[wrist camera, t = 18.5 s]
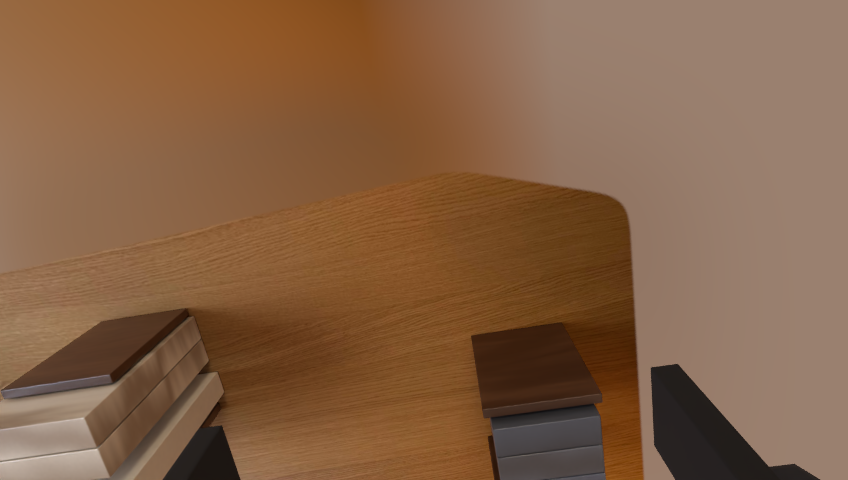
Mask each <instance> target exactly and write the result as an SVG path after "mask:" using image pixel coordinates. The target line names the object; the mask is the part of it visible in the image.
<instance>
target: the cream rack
mask: <svg viewBox="0 0 848 480" xmlns="http://www.w3.org/2000/svg"><path fill="white" fill-rule="evenodd" d="M187 316H188V312H187V309H186V308H185V309H179V310H172V311H166V312H160V313H153V314H147V315H141V316H134V317H128V318H122V319H115V320H109V321H103V322H100V323H99V324H97V325H96V326H94V327H93V328H92V329H90V330H89V331H87V332H86V333H84V334H83V335H81V336H80V337H78V338H77V339H75V340H74V341H73V342H71V343H70V344H68V345H67V346H65V347H64V348H62V349H61V350H59V351H58V352H56V353H55V354H54V355H52V356H51V357H49V358H48V359H46V360H45V361H43V362H42V363H40V364H39V365H37V366H36V367H34V368H33V369H32V370H30V371H29V372H27V373H26V374H24V375H23V376H21V377H20V378H18V379H17V380H15V381H14V382H13V383H11V384H10V385H8V386H7V387H5V388H4V389H2V390H1V393H2V395H3V397H4V399H3V400H2V401H1V402H0V480H96V479H103V478H110V477H111V476H112V475H113V474H114V473H115V471H116V470H117V469H118V468H119V467H120V465H121V464H122V463H123V462H124V461H125V460H126V458H127V457H128V456H129V455H130V454H131V452H132V451H133V450H134V449H135V448H136V447H137V445H138V444H139V443H140V442H141V441H142V439H143V438H144V437H145V436H146V435H147V433H148V432H149V431H150V430H151V429H152V428H153V426H154V425H155V424H156V423H157V422H158V420H159V419H160V418H161V417H162V416H163V415H164V413H165V412H166V411H167V410H168V409H169V407H170V406H171V405H172V404H173V403H174V402H175V400H176V399H177V398H178V397H179V396H180V394H181V393H182V392H183V391H184V390H185V389H186V387H187V386H188V385H189V384H190V383H191V381H192V380H193V379H194V378H195V377H196V376H197V374H198V373H199V372H200V371H201V370H202V368H203V367H204V366H205V365H206V364H207V362H208V361H209V359H208V356H207V353H206V350H205V347H204V344H203V341H202V340H200V339H201V335H200V332H199V329H198V326H197V323H196V321H195V318H194V316H192V317H187ZM220 410H221V409H220V406H219V403H217V404H216V405H215V406H214V408H213V409H212V410H211V412H210V413H209V415H208V416H207V418H206V419H205V420H204V422H203V423H202V425H201V426H200V427H199V428H207V427H209V426H210V425H211V423H212V422H213V420H214V419H215V417H216V416H217V414H218V413H219V411H220Z"/></svg>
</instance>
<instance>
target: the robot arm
mask: <svg viewBox="0 0 848 480" xmlns="http://www.w3.org/2000/svg"><path fill="white" fill-rule="evenodd" d="M651 382H652V404H653V426H654V445H655V447H656V449H657V451H658V452H659V454H660V455H661V457H662V459H663V460H664V462H665V464H666V465H667V467H668V468H669V470H670V472H671V473H672V475H673V477H674V478H675V480H820V479H818V478H817V477H815V476H813V475H812V474H810V473H808V472H807V471H805V470H804V469H802V468H800V467H799V466H797V465H795V464H790V465H782V466H773V467H768V465H767V464H766V463H765V462H764V461H763V460H762V459H761V457H760V456H759V455H758V454H757V453H756V452H755V451H754V450H753V448H752V447H751V446H750V445H749V444H748V443H747V442H746V441H745V439H744V438H743V437H742V436H741V435H740V434H739V433H738V432H737V431H736V429H735V428H734V427H733V426H732V425H731V424H730V423H729V421H728V420H727V419H726V418H725V417H724V416H723V415H722V414H721V412H720V411H719V410H718V409H717V408H716V407H715V406H714V405H713V403H712V402H711V401H710V400H709V399H708V398H707V397H706V395H705V394H704V393H703V392H702V391H701V390H700V389H699V388H698V386H697V385H696V384H695V383H694V382H693V381H692V380H691V379H690V378H689V376H688V375H687V374H686V373H685V372H684V371H683V370H682V368H681V367H680V366H679V365H678V364H674V365H666V366H660V367H652V368H651ZM163 480H240V477H239V474H238V471H237V468H236V465H235V462H234V459H233V457H232V454H231V451H230V448H229V445H228V442H227V439H226V436H225V433H224V430H223V427H222V426H214V427H207V428H199V429H198V430H197V431H196V433H195V434H194V436H193V437H192V438H191V440H190V441H189V443H188V444H187V446H186V447H185V448H184V450H183V451H182V453H181V454H180V455H179V457H178V458H177V460H176V461H175V463H174V464H173V465H172V467H171V468H170V470H169V471H168V472H167V474H166V475H165V477H164V478H163Z"/></svg>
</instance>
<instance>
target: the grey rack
mask: <svg viewBox="0 0 848 480" xmlns="http://www.w3.org/2000/svg"><path fill="white" fill-rule="evenodd" d="M471 338H472V344H473V351H474V357H475V364H476V370H477V377H478V383H479V390H480V397H481V403H482V410H483V416H484V418H490V424H491V430H492V435H493V436H489V437H488V442H489V449H490V455H491V461H492V468H493V474H494V480H606V477H605V466H604V454H603V445H602V443H603V442H602V430H601V418H600V415H599V413H598V411H597V409H596V407H595V405H594V403H602V394H601V392H600V390H599V388H598V387H597V385H596V383H595V381H594V379H593V378H592V376H591V374H590V372H589V370H588V369H587V367H586V365H585V363H584V361H583V360H582V358H581V356H580V354H579V353H578V351H577V349H576V347H575V345H574V344H573V342H572V340H571V338H570V336H569V335H568V333H567V331H566V329H565V327H564V326H563V324H562V323H555V324H548V325H541V326H534V327H528V328H521V329H514V330H507V331H501V332H494V333H487V334H480V335H473V336H471Z"/></svg>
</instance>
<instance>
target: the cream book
mask: <svg viewBox="0 0 848 480" xmlns="http://www.w3.org/2000/svg"><path fill="white" fill-rule="evenodd" d="M223 393H224V390H223V387H222V384H221V381H220V378H219V375H218V372H212V373H205V374H198V375H197V376H196V377H195V378H194V379H193V380H192V381H191V383H190V384H189V385H188V386H187V387H186V389H185V390H184V391H183V392H182V393H181V394H180V396H179V397H178V398H177V399H176V400H175V402H174V403H173V404H172V405H171V406H170V407H169V409H168V410H167V411H166V412H165V413H164V415H163V416H162V417H161V418H160V419H159V420H158V422H157V423H156V424H155V425H154V426H153V428H152V429H151V430H150V431H149V432H148V433H147V435H146V436H145V437H144V438H143V439H142V441H141V442H140V443H139V444H138V445H137V447H136V448H135V449H134V450H133V451H132V452H131V454H130V455H129V456H128V457H127V458H126V460H125V461H124V462H123V463H122V464H121V465H120V467H119V468H118V469H117V470H116V471H115V473H114V474H113V475H112V476H111V477H110V478H103V479H96V480H163V478H164V477H165V475H166V474H167V472H168V471H169V470H170V468H171V467H172V465H173V464H174V463H175V461H176V460H177V458H178V457H179V455H180V454H181V453H182V451H183V450H184V448H185V447H186V446H187V444H188V443H189V441H190V440H191V438H192V437H193V436H194V434H195V433H196V431H197V430H198V429H199V427H200V426H201V425H202V423H203V422H204V420H205V419H206V418H207V416H208V415H209V413H210V412H211V410H212V409H213V408H214V406H215V405H216V403H217V402H218V400H219V399H220V398H221V396H222V395H223Z"/></svg>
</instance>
